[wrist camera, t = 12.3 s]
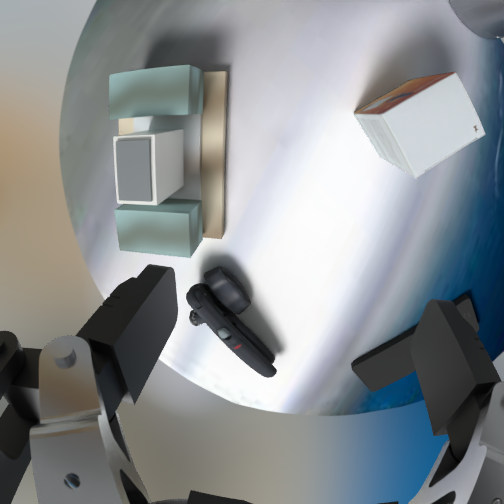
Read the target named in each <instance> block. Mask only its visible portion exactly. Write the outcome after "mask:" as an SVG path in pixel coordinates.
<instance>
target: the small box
mask: <svg viewBox="0 0 504 504" xmlns="http://www.w3.org/2000/svg"><path fill="white" fill-rule="evenodd" d="M354 116H355V117H356V119H357V120H358V122H359V124H360V125H361V127H362V129H363V130H364V132H365V133H366V135H367V137H368V138H369V140H370V142H371V143H372V145H373V147H374V148H375V150H376V152H377V153H378V155H379V157H381V158H382V159H384V160H386V161H388V162H389V163H391V164H392V165H394V166H396V167H398V168H399V169H401V170H402V171H404V172H406V173H407V174H409V175H411V176H412V177H414V178H418V177H419V176H420V175H422V174H423V173H425V172H426V171H428V170H429V169H431V168H432V167H434V166H435V165H437V164H438V163H440V162H441V161H443V160H444V159H446V158H448V157H449V156H451V155H452V154H454V153H455V152H457V151H459V150H460V149H462V148H463V147H465V146H467V145H468V144H470V143H472V142H473V141H475V140H477V139H479V138H480V137H482V136H484V135H485V132H484V129H483V127H482V125H481V122H480V120H479V117H478V115H477V113H476V111H475V108H474V106H473V104H472V102H471V100H470V98H469V96H468V94H467V92H466V90H465V88H464V86H463V84H462V82H461V80H460V78H459V77H458V75H457V73H456V72H451V73H445V74H438V75H433V76H427V77H422V78H417V79H412V80H409V81H407V82H406V83H404V84H402V85H401V86H399V87H397V88H396V89H394V90H392V91H390V92H389V93H387V94H385V95H383V96H382V97H380V98H378V99H376V100H374V101H373V102H371V103H369V104H368V105H366V106H364V107H363V108H361V109H359V110H357V111H356V112H354Z"/></svg>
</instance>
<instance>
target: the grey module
mask: <svg viewBox="0 0 504 504" xmlns="http://www.w3.org/2000/svg"><path fill="white" fill-rule="evenodd" d="M113 139H114V164H115V180H116V193H117V204H138V205H158V204H160V203H161V202H162V201H164V200H165V199H166V198H168V197H169V196H170V195H172V194H173V193H174V192H176V191H177V190H178V189H180V188H181V187H183V186H184V129H161V130H145V131H140V132H135V133H129V134H124V135H119V136H115V137H113Z"/></svg>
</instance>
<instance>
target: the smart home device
mask: <svg viewBox="0 0 504 504" xmlns="http://www.w3.org/2000/svg"><path fill="white" fill-rule="evenodd" d="M453 303H454V304H455V306H456V307H457V309H458V311H459V312H460V314H461V316H462V317H463V318H464V319H465V320H466V321H467V322H468V323H469V324H470V325H471V326H472V327H473V328H474V330H475V332H477V331H478V330H479V326H478V322H477V319H476V316H475V312H474V309H473V306H472V303H471V300H470V298H469V297H468V295H467V294H465V295H463V296H461V297H459V298H458V299H456V300H455V301H453ZM417 326H418V325H417ZM417 326H415V327H413V328H412V329H410V330H408V331H407V332H405V333H403V334H402V335H400V336H398V337H396V338H395V339H393V340H391V341H389V342H388V343H386V344H384V345H382V346H380V347H378V348H376V349H375V350H373V351H371V352H369V353H367V354H366V355H364V356H362V357H360V358H358V359H356V360H354V361H353V362H352V363H351V366H352V370H353V371H354V372H355V374H356V375H357V376H358V377H359V378H360V379H361V380H362V381H363V383H364V384H365V385H366V386H367V387H368V388H369V389H370V390H371V391H377V390H379V389H381V388H383V387H385V386H387V385H389V384H391V383H393V382H395V381H397V380H399V379H401V378H403V377H405V376H407V375H408V374H410V373H412V372H414V371H416V369H415V366H414V362H413V359H412V356H411V350H410V347H411V340H412V337H413V335H414V332H415V330H416V328H417Z"/></svg>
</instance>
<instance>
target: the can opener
mask: <svg viewBox="0 0 504 504" xmlns="http://www.w3.org/2000/svg"><path fill="white" fill-rule="evenodd" d="M204 277H205V280H206V282H207V284H201V283H200V284H195V285H193V286H192V287H191V288H190V289H189V292H188V293H187V295H186V299H187V302H188V304H189V305H190V306H191V307H192V308H193V310H192V311H191V312H190V316H189V319H190V322H191V323H192V325H194V326H198V325H200V324H202V323H206V324H207V325H208V326H209V327H210V328H211V329H212V331H213V332H214V333H215V334H216V335H217V336H218V337H219V338H220V339H221V340H222V341H223V342H224V343H225V344H226V346H228V347H229V348H230V350H232V351H233V352H234V353H235V354H236V355H237V356H238V357H239V358H240V359H241V360H243V361H244V362H245V363H246V364H247V365H248V366H250V367H251V368H252V369H254V370H255V371H256V372H258V373H259V374H261V375H262V376H264V377H268V378H269V377H273V376H274V375H275V374H276V372H277V370H276V368H275V367H274V366H273V365H272V364H273V362H274V360H275V358H274V356H273V355H272V353H271V352H270V351H269V350H268V348H267V347H266V346H265V345H264V344H263V343H262V342H261V341H260V339H259V338H258V337H257V336H255V334H254V333H252V332H251V331H250V330H249V329H248V328H247V327H246V326H245V325H244V324H243V323H242V322H241V321H240V320H239V319H238V318H237V316H236V315H235V314H241V313H242V312H243V311H244V310H245V309H246V308H247V307H248V306H249V305H250V304H251V302H250V299H249V297H248V295H247V293H246V291H245V289H244V287H243V286H242V285H241V283H240V282H239V281H238V280H237V279H236V278H235V277H234V276H233V275H232V274H231V273H229V272H228V271H227V270H226V269H224V268H222V267H216V268H214V269H212V270H210V271H208V272H205V273H204ZM233 312H234V313H235V314H234V313H233Z"/></svg>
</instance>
